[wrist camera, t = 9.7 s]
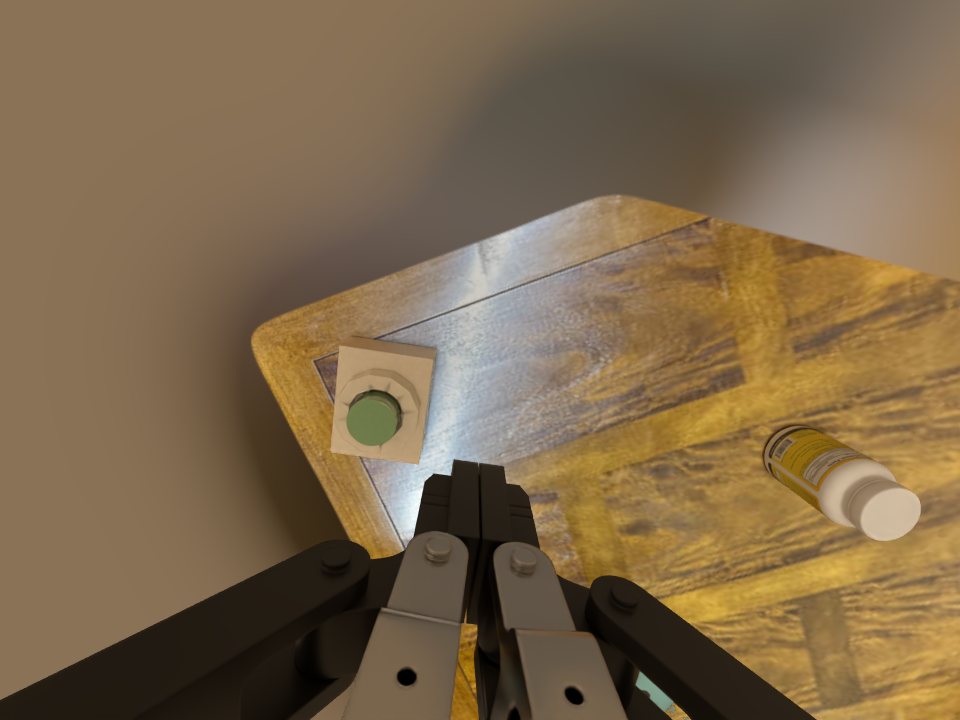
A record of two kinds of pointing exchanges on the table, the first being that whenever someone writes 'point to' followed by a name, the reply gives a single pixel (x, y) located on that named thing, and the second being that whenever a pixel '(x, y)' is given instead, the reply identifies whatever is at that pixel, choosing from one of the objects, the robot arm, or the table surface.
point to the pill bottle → (842, 483)
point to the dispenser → (391, 373)
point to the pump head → (373, 418)
